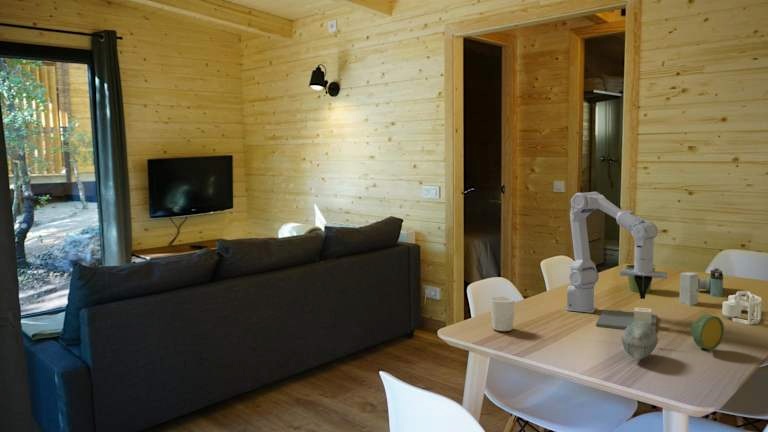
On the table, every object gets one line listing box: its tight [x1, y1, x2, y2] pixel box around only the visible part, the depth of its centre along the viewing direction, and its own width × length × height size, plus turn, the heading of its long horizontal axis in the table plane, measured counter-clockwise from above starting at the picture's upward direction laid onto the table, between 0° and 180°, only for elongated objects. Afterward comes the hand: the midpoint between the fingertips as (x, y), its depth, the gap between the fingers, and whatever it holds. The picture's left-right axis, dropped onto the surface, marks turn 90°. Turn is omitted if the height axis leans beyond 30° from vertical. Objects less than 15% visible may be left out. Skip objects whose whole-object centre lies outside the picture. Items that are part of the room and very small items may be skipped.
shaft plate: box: [595, 309, 658, 331], centre depth 200 cm, size 18×20×4 cm
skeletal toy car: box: [721, 290, 762, 326], centre depth 204 cm, size 20×11×7 cm, turn 140°
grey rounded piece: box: [621, 321, 659, 360], centre depth 166 cm, size 14×10×10 cm
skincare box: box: [678, 271, 699, 307], centre depth 222 cm, size 6×4×12 cm
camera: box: [698, 267, 724, 298], centre depth 239 cm, size 16×10×10 cm, turn 151°
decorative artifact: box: [689, 314, 725, 351], centre depth 173 cm, size 10×7×10 cm
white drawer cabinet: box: [633, 306, 653, 325], centre depth 195 cm, size 5×5×5 cm
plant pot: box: [624, 264, 657, 294], centre depth 241 cm, size 12×12×11 cm
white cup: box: [490, 296, 516, 332], centre depth 194 cm, size 8×8×10 cm
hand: (642, 298), depth 195 cm, fingers closed
